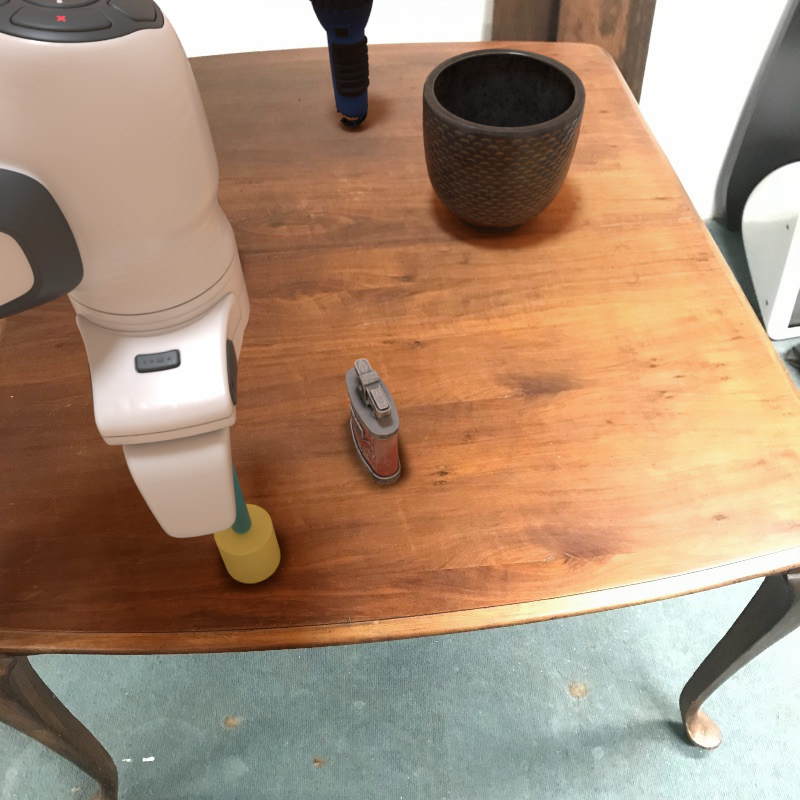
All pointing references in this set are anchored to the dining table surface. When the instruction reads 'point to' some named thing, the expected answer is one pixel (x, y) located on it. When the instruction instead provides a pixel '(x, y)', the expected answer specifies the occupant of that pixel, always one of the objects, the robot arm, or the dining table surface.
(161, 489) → the robot arm
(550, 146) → the planter
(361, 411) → the lighter
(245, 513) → the brush
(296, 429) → the dining table surface
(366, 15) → the flashlight
